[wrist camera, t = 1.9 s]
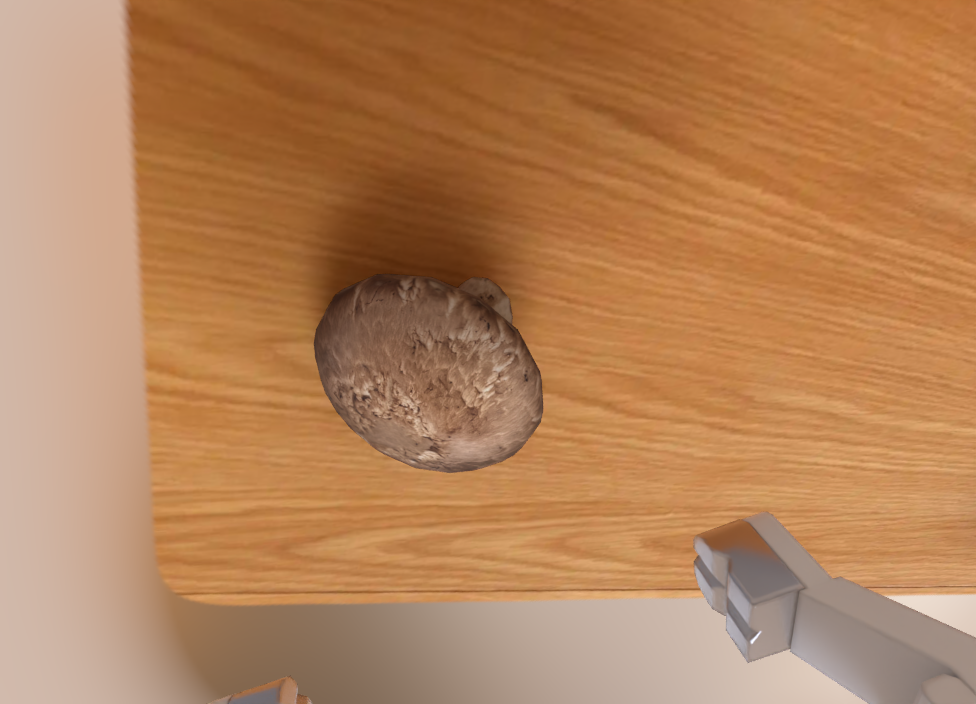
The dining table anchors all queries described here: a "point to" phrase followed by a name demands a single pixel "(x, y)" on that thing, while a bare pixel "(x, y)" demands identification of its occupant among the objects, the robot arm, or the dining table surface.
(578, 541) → the dining table surface
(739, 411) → the dining table surface
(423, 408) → the mushroom
